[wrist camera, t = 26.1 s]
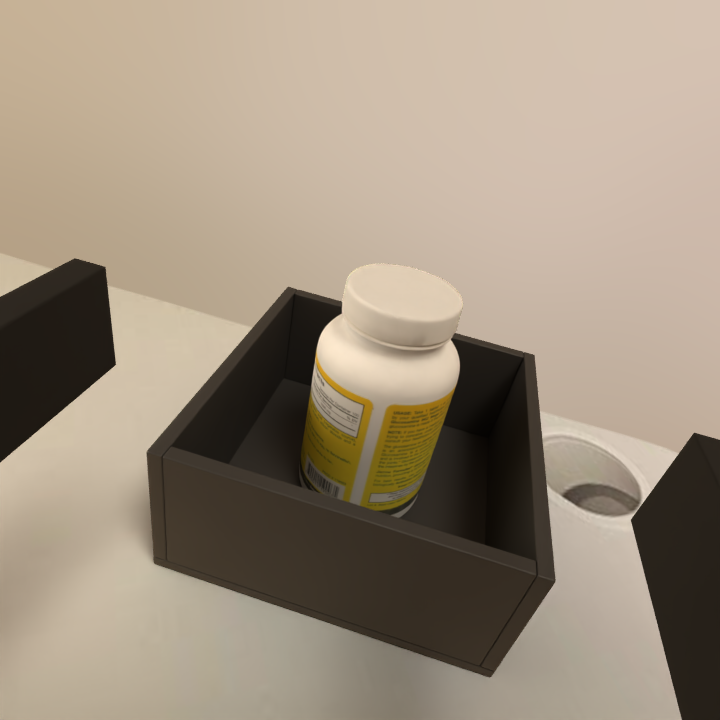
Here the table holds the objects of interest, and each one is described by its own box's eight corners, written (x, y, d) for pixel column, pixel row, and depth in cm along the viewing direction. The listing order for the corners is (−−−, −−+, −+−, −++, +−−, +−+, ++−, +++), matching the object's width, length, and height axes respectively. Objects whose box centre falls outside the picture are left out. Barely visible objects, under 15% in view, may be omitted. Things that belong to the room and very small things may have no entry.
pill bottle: (419, 452, 29) (480, 274, 23) (413, 545, 24) (490, 347, 18) (311, 427, 29) (342, 242, 23) (282, 514, 24) (313, 306, 18)
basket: (496, 441, 32) (534, 354, 28) (490, 678, 20) (556, 581, 17) (277, 376, 33) (287, 286, 30) (153, 563, 21) (145, 451, 18)
